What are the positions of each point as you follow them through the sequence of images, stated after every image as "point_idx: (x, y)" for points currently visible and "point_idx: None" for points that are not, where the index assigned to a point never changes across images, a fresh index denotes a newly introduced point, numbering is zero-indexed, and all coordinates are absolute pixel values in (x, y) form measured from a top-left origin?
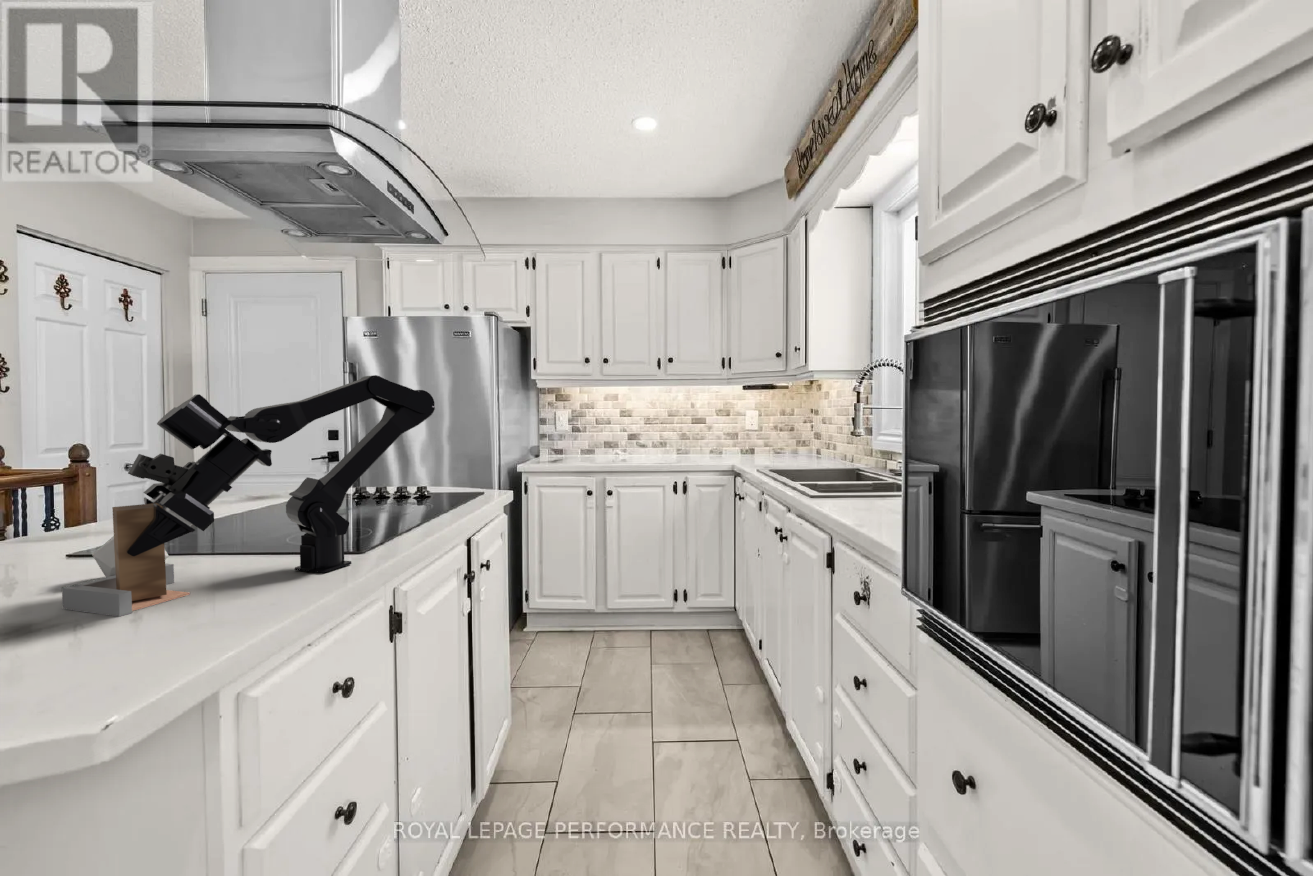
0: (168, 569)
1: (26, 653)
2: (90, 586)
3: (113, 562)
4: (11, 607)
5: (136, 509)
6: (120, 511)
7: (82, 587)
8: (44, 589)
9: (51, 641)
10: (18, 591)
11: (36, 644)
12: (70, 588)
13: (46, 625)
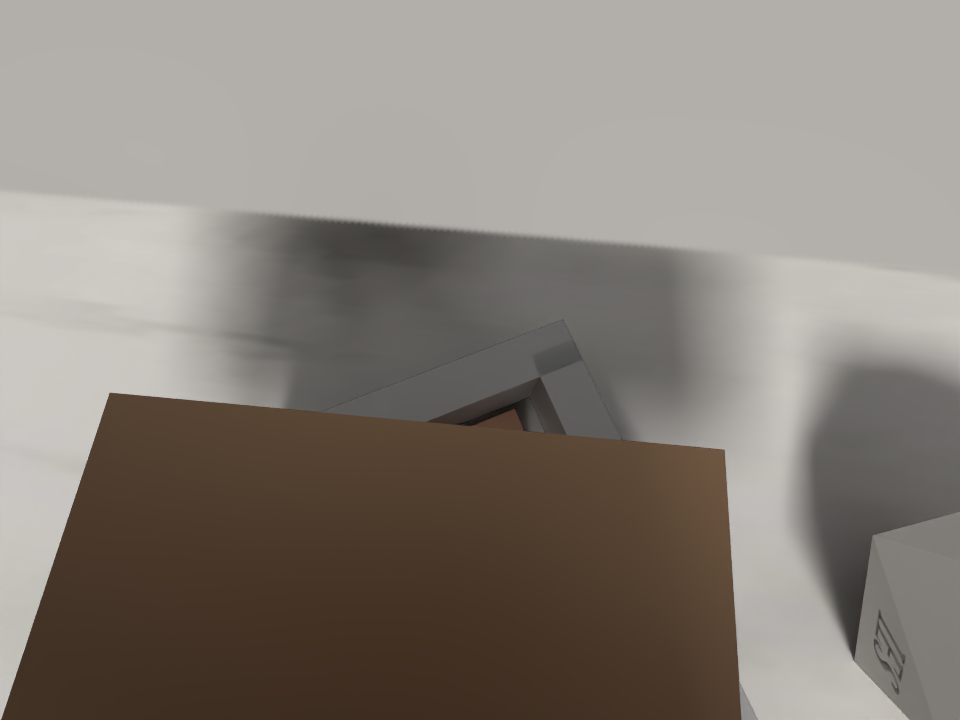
0: None
1: (119, 226)
2: (491, 394)
3: (905, 548)
4: (703, 252)
5: (25, 692)
6: (101, 445)
7: (501, 371)
8: (926, 348)
9: (175, 278)
10: (949, 288)
11: (183, 250)
12: (520, 338)
13: (371, 290)
